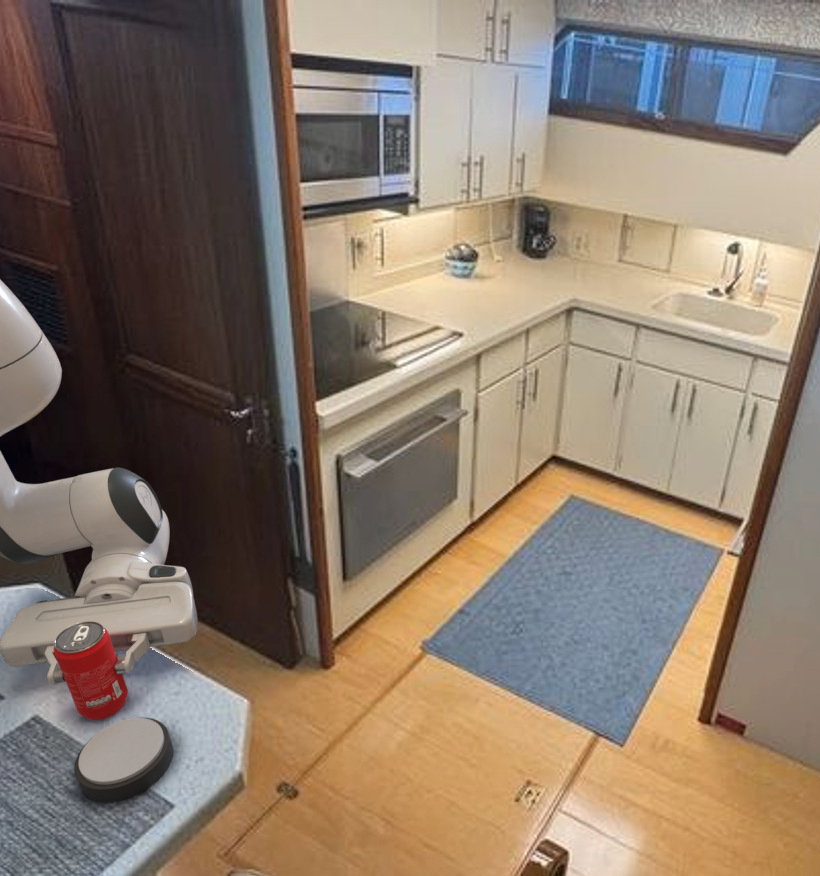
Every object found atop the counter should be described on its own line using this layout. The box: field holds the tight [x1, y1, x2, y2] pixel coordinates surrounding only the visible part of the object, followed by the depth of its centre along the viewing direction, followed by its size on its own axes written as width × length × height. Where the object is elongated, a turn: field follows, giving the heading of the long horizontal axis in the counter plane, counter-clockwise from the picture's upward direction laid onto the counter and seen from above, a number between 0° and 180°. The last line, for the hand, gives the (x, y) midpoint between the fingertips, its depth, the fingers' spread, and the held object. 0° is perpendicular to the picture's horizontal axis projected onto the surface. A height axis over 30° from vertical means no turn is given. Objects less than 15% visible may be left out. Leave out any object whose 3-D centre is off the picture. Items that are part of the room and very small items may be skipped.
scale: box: [73, 716, 174, 803], centre depth 78 cm, size 9×9×3 cm
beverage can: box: [54, 621, 129, 722], centre depth 82 cm, size 5×5×12 cm
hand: (89, 675), depth 81 cm, fingers closed on beverage can, 5 cm apart
